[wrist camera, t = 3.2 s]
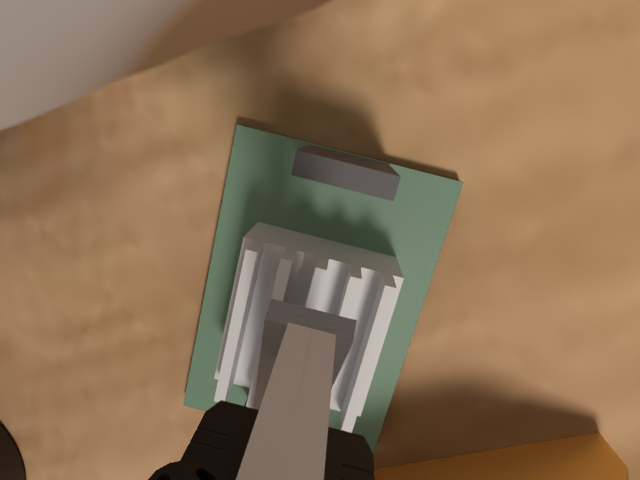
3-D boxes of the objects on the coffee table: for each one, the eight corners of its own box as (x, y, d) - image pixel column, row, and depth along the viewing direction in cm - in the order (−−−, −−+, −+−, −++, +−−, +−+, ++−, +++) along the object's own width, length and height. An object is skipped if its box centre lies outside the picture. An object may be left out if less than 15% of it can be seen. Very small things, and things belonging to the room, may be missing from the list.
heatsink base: (372, 444, 33) (378, 535, 25) (188, 396, 33) (141, 473, 26) (459, 180, 28) (497, 199, 20) (240, 124, 28) (201, 123, 20)
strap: (310, 448, 25) (306, 471, 24) (242, 430, 25) (235, 452, 25) (375, 319, 14) (371, 353, 13) (254, 288, 14) (243, 320, 13)
